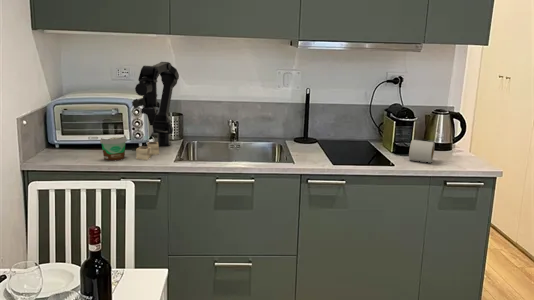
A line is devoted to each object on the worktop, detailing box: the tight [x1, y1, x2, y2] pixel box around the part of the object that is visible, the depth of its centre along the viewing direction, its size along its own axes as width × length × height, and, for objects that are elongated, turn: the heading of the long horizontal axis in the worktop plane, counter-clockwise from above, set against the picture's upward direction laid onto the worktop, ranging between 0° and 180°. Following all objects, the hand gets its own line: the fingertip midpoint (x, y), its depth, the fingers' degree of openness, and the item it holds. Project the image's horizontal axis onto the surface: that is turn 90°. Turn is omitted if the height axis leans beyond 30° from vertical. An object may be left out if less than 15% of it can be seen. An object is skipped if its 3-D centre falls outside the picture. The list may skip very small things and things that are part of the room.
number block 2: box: [146, 141, 160, 156], centre depth 249 cm, size 5×5×5 cm
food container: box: [100, 134, 128, 162], centre depth 236 cm, size 12×6×10 cm, turn 130°
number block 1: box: [136, 145, 152, 161], centre depth 240 cm, size 5×5×5 cm
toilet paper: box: [408, 139, 435, 164], centre depth 249 cm, size 10×10×10 cm
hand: (151, 125), depth 249 cm, fingers closed
